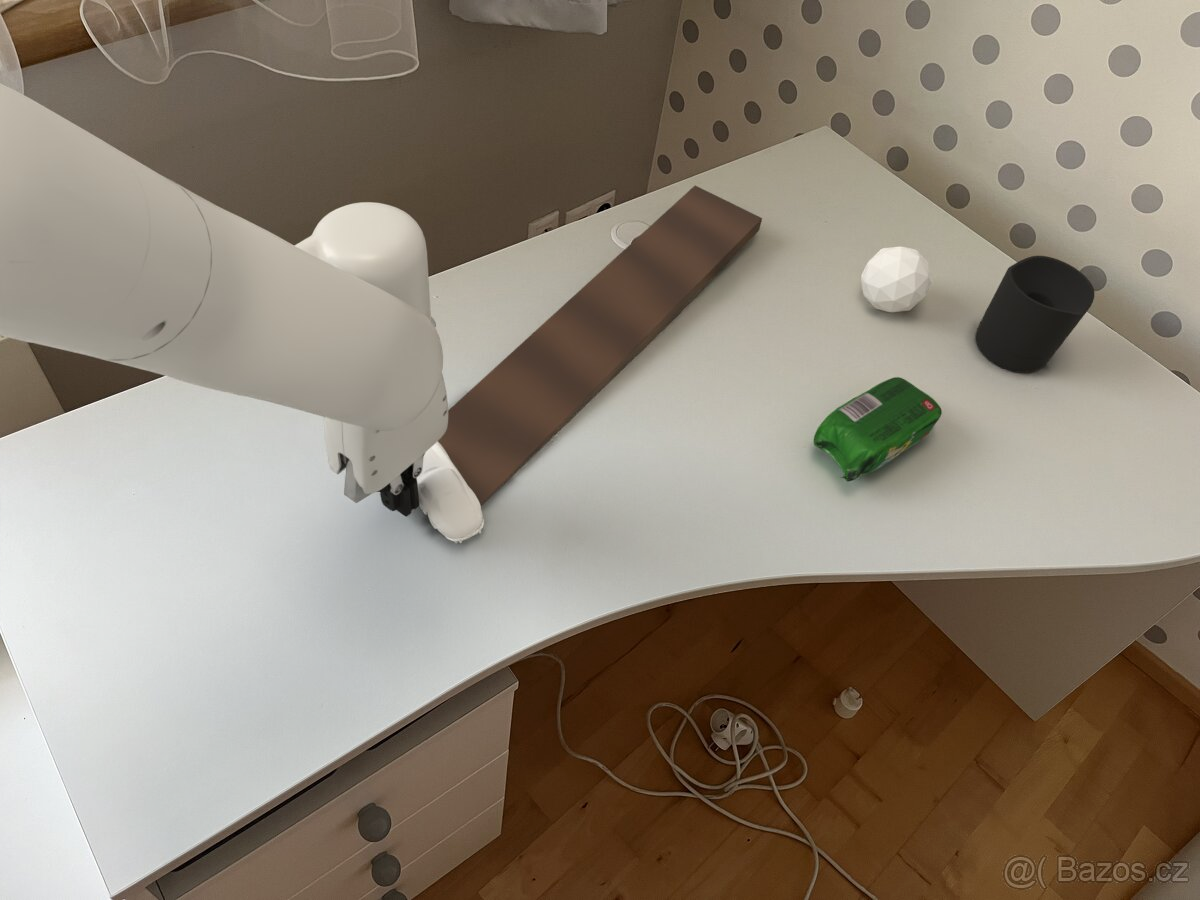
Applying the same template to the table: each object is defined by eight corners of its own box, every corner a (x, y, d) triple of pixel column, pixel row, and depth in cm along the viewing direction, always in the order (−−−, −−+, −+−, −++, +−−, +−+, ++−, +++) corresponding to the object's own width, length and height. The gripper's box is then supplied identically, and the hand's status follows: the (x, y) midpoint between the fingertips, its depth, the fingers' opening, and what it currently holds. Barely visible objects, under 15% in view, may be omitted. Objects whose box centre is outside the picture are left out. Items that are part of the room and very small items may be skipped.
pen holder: (1060, 380, 103) (1106, 316, 95) (980, 372, 102) (1020, 307, 95) (1038, 324, 109) (1080, 259, 101) (962, 316, 108) (999, 250, 101)
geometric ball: (878, 309, 112) (918, 253, 109) (914, 333, 105) (957, 275, 103) (836, 283, 108) (876, 225, 106) (871, 307, 102) (914, 246, 99)
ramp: (465, 533, 84) (464, 500, 80) (387, 479, 88) (382, 444, 83) (753, 252, 116) (763, 217, 111) (688, 219, 119) (695, 184, 114)
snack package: (792, 453, 92) (806, 420, 88) (891, 392, 99) (908, 359, 95) (843, 500, 89) (860, 468, 85) (941, 434, 96) (961, 401, 92)
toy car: (432, 442, 88) (430, 420, 85) (494, 531, 82) (494, 510, 80) (387, 462, 86) (383, 440, 83) (447, 554, 80) (445, 534, 78)
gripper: (414, 290, 73) (426, 435, 87) (270, 392, 64) (309, 534, 78) (485, 332, 70) (485, 474, 85) (346, 444, 62) (371, 581, 76)
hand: (400, 503), depth 81 cm, fingers closed
